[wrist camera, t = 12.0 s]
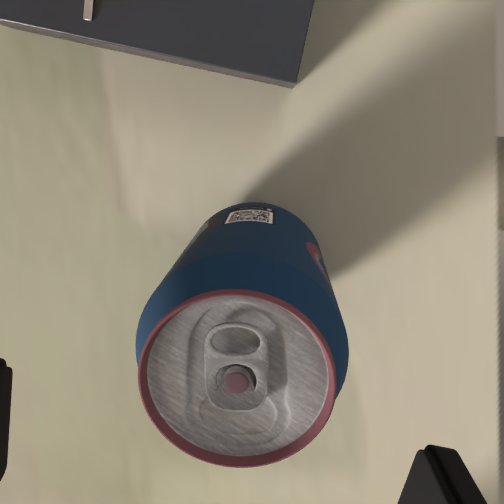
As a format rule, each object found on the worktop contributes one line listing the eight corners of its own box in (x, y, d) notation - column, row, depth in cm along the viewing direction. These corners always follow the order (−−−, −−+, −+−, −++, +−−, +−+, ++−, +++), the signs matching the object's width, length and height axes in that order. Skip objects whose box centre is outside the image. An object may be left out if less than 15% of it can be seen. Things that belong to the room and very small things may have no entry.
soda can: (317, 321, 25) (351, 490, 14) (194, 318, 25) (126, 480, 14) (322, 198, 23) (367, 273, 12) (189, 197, 23) (105, 269, 12)
